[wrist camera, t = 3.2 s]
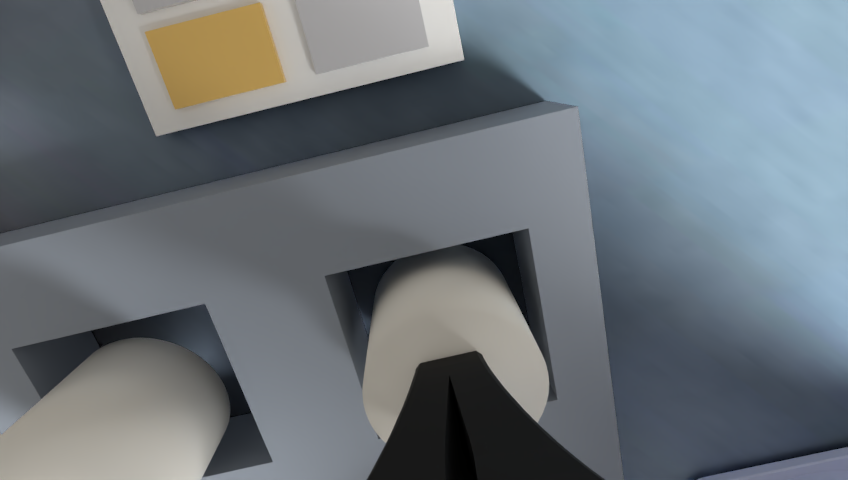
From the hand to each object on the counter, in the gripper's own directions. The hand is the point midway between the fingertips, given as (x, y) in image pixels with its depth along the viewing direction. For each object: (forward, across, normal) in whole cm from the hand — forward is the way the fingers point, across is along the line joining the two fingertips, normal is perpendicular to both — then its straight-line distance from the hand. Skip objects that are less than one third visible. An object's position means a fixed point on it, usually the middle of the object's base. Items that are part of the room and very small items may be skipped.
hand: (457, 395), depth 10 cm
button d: (+2, +8, 0) cm, 8 cm away
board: (+5, +4, +4) cm, 7 cm away
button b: (+4, 0, 0) cm, 4 cm away
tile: (+5, +2, -9) cm, 10 cm away
